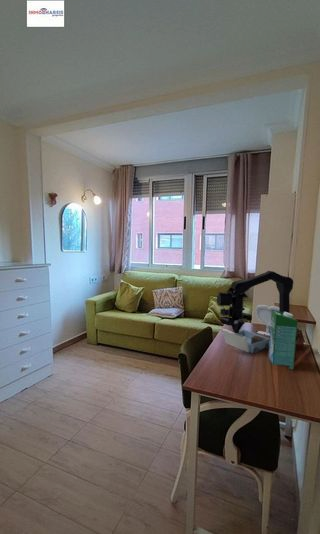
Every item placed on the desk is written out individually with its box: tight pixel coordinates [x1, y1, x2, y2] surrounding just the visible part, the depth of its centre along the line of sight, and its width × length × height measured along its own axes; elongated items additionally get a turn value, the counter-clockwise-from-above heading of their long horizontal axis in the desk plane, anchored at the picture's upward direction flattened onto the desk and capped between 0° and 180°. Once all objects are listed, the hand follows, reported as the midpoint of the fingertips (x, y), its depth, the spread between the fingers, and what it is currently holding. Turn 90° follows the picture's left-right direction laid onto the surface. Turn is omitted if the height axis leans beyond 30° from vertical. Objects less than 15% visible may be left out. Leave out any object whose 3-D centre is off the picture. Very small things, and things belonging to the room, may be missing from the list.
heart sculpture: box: [254, 304, 279, 337], centre depth 156 cm, size 16×5×18 cm, turn 61°
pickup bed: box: [238, 329, 270, 354], centre depth 136 cm, size 19×16×6 cm
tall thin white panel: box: [222, 328, 249, 353], centre depth 130 cm, size 14×1×9 cm, turn 35°
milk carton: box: [267, 309, 299, 370], centre depth 116 cm, size 9×9×25 cm
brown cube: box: [251, 336, 263, 344], centre depth 134 cm, size 4×4×4 cm
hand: (235, 334), depth 130 cm, fingers closed
